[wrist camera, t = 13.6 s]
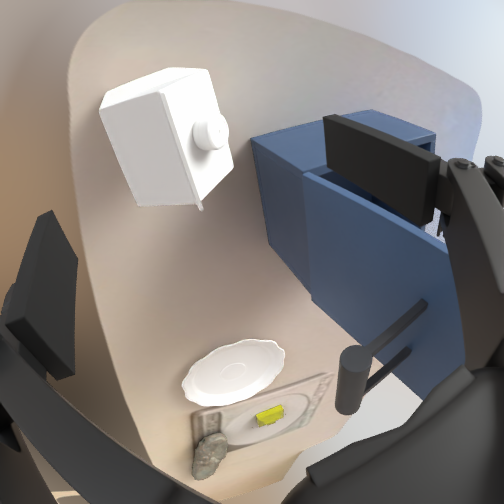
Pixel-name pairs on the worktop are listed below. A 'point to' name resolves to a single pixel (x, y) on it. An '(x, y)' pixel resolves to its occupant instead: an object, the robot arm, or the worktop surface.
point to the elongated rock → (209, 455)
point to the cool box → (314, 161)
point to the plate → (233, 372)
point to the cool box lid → (381, 293)
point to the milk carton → (168, 136)
